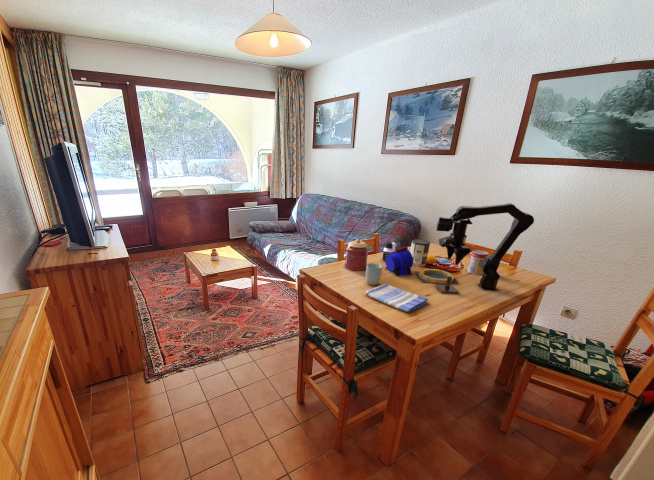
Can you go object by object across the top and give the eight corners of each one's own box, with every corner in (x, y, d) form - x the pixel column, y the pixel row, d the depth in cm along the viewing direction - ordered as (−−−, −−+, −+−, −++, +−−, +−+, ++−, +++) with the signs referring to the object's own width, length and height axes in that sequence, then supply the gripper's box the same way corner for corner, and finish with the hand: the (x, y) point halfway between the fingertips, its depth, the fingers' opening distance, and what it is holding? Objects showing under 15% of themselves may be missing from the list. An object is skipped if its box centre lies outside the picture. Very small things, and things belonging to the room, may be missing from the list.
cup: (380, 287, 159) (383, 269, 155) (365, 286, 160) (367, 267, 156) (379, 281, 166) (381, 263, 162) (364, 280, 167) (366, 262, 163)
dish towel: (385, 286, 159) (386, 281, 158) (429, 303, 142) (430, 298, 141) (363, 295, 150) (364, 290, 148) (407, 314, 132) (408, 308, 131)
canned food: (485, 272, 178) (491, 252, 173) (479, 275, 174) (484, 255, 169) (471, 268, 184) (476, 249, 179) (464, 271, 180) (469, 251, 175)
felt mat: (446, 273, 177) (446, 272, 177) (458, 284, 162) (458, 283, 162) (414, 271, 179) (414, 271, 179) (422, 282, 164) (422, 282, 164)
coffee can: (421, 260, 198) (426, 239, 192) (428, 266, 188) (433, 243, 183) (405, 260, 198) (409, 239, 192) (411, 265, 188) (415, 243, 183)
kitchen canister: (349, 262, 195) (352, 234, 188) (369, 266, 188) (373, 238, 181) (340, 268, 185) (343, 239, 178) (361, 272, 178) (364, 242, 171)
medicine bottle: (381, 261, 196) (384, 243, 191) (382, 258, 202) (385, 240, 197) (393, 262, 193) (396, 244, 189) (394, 259, 200) (397, 241, 195)
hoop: (446, 272, 177) (446, 269, 176) (458, 284, 161) (459, 280, 161) (415, 271, 179) (415, 268, 178) (424, 282, 163) (424, 279, 163)
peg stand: (451, 287, 158) (455, 273, 156) (458, 294, 151) (461, 280, 148) (435, 286, 159) (438, 273, 156) (441, 293, 152) (444, 279, 149)
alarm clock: (412, 274, 175) (417, 249, 169) (393, 276, 173) (397, 250, 167) (399, 267, 186) (403, 243, 180) (381, 269, 183) (385, 244, 178)
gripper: (435, 227, 163) (430, 256, 169) (449, 236, 146) (443, 267, 152) (457, 228, 162) (451, 256, 168) (474, 237, 145) (467, 268, 151)
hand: (452, 261), depth 160 cm, fingers open, 9 cm apart
